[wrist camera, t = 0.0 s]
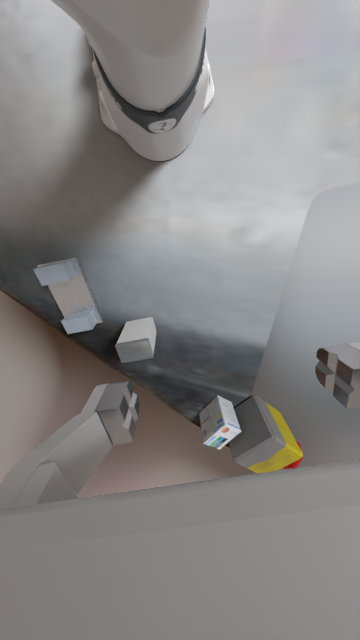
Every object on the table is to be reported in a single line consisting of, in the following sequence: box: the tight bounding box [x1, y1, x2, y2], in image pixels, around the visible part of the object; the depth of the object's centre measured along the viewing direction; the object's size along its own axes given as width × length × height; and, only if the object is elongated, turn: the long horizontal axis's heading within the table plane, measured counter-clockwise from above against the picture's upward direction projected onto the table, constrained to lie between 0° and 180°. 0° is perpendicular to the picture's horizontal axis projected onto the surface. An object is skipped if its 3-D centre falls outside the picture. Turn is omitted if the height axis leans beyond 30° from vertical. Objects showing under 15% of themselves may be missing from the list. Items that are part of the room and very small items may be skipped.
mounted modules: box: [33, 260, 97, 334], centre depth 44 cm, size 16×6×4 cm, turn 11°
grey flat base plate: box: [37, 257, 104, 323], centre depth 46 cm, size 16×8×2 cm, turn 11°
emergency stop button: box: [229, 395, 303, 473], centre depth 64 cm, size 15×24×15 cm, turn 49°
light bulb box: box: [199, 395, 241, 450], centre depth 62 cm, size 11×7×11 cm, turn 147°
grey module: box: [115, 317, 156, 363], centre depth 47 cm, size 5×7×11 cm, turn 101°
